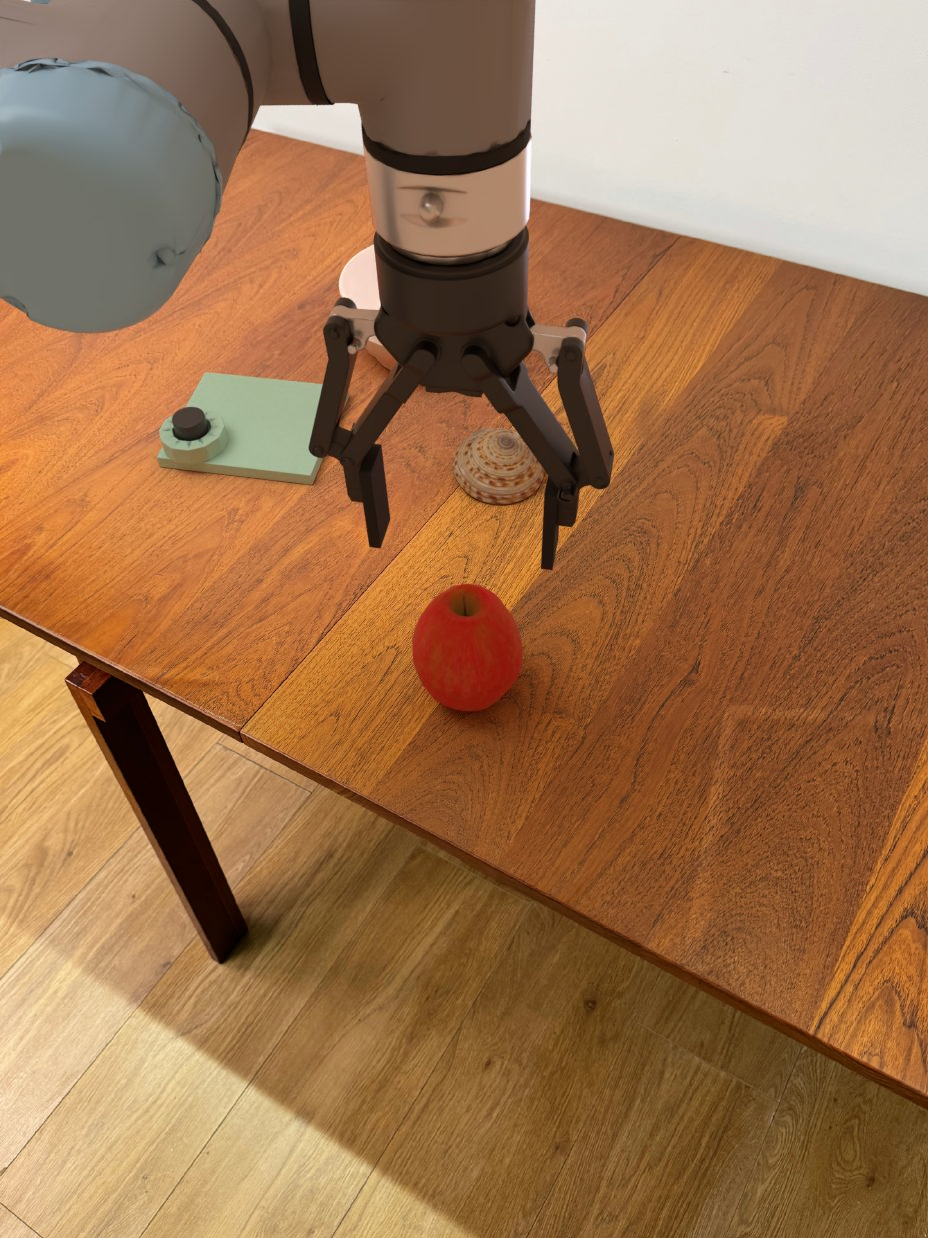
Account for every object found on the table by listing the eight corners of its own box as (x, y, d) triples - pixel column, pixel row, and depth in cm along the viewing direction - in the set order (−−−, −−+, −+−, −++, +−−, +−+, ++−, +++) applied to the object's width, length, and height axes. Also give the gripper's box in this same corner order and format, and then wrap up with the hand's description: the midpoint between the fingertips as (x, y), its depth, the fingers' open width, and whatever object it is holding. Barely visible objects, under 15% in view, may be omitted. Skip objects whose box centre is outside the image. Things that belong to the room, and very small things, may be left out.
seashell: (520, 410, 94) (551, 432, 87) (527, 466, 97) (557, 492, 90) (437, 430, 92) (462, 454, 86) (447, 486, 95) (472, 515, 88)
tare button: (171, 440, 92) (166, 425, 91) (183, 419, 94) (178, 404, 93) (202, 443, 92) (197, 429, 90) (213, 422, 94) (209, 407, 92)
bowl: (505, 302, 109) (505, 235, 103) (493, 395, 99) (493, 327, 93) (361, 297, 110) (352, 231, 104) (335, 389, 100) (324, 321, 94)
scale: (157, 470, 94) (149, 445, 91) (207, 381, 102) (201, 356, 99) (310, 488, 91) (306, 463, 89) (349, 396, 100) (345, 371, 97)
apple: (435, 633, 80) (427, 541, 72) (534, 655, 79) (538, 563, 70) (402, 715, 75) (389, 627, 67) (507, 740, 74) (507, 653, 65)
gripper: (195, 248, 47) (276, 563, 64) (691, 290, 44) (637, 610, 61) (247, 170, 51) (310, 483, 69) (699, 202, 48) (646, 523, 65)
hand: (463, 543), depth 65 cm, fingers open, 10 cm apart
